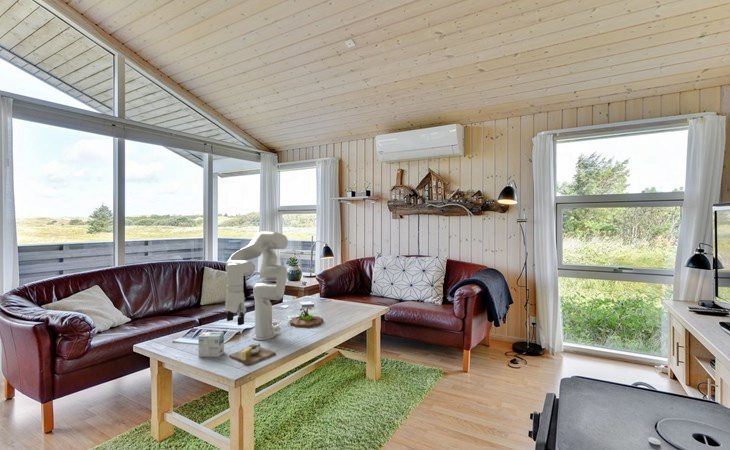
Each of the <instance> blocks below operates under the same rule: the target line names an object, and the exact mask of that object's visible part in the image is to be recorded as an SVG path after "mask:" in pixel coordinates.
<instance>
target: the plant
mask: <svg viewBox="0 0 730 450" xmlns="http://www.w3.org/2000/svg"><path fill="white" fill-rule="evenodd" d="M302 310H303V311H302ZM308 310H311V311H312V307H311V306H308V307H307V308H306V310H305V308H303V307H302V308H300V309H299V312H300V313H299V314H298V315H299V316H296V317H294V318H292V319H290V323H289V325H290V327H295V328H303V329H312V328H316V327H319V326H321V325H322V323H323V322H324V318H322V317H320V316H318V315H317V316H314V315H315V313H311V314H310V312H309V311H308Z"/></svg>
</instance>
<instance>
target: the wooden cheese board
mask: <svg viewBox="0 0 730 450" xmlns="http://www.w3.org/2000/svg"><path fill="white" fill-rule="evenodd" d="M248 346H249V347H252V348H256V347H257V345H256V344H255V343H254V344H249V345H248ZM243 350H244V349H241V350H238V351H236V352H235V351H234V352H233V353H230V354H229V358H231V359H234V360H236V361H238V362H240V363H242V362H243V364H245V365H247V366H251V364H252V365H253V364H256V363H259V362H261V361H265V360H267V359H269V358H271V357H274V356H276V353H277V352H276V351H273V350H270V349H267V348H264V347H261V346H260V349H259V353H258V354H256V355H252V356H250V357H249V358H248V359H247V360H241V352H242V351H243Z"/></svg>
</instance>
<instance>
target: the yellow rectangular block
mask: <svg viewBox="0 0 730 450" xmlns="http://www.w3.org/2000/svg"><path fill="white" fill-rule="evenodd" d="M254 344H256V345H257V347H256V348H252V347H249V345H248V346H247V347H246V348H244V349H242V350H243V351H242V352H241V360H247V359H248V358H249V357H250V356H252V355H256V354H258V353H259V349H260V347H261V343H260V342H255V343H254Z"/></svg>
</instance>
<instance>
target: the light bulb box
mask: <svg viewBox="0 0 730 450" xmlns="http://www.w3.org/2000/svg"><path fill="white" fill-rule="evenodd" d="M224 334H225V333H224V331H204V332H203V331H202V333H201V334H200V335H198V336H197V337H198V339H197V340H198V357H199V358H203V357H204V358H209V357H210V358H213V357H214V358H217V357H218V358H219V357H221V356H222V354H224V353H225V339H224V338H225V335H224Z"/></svg>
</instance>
